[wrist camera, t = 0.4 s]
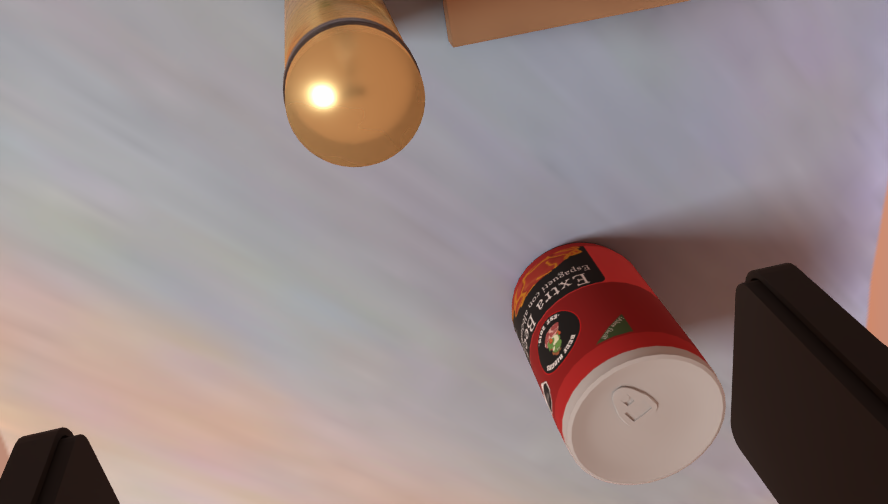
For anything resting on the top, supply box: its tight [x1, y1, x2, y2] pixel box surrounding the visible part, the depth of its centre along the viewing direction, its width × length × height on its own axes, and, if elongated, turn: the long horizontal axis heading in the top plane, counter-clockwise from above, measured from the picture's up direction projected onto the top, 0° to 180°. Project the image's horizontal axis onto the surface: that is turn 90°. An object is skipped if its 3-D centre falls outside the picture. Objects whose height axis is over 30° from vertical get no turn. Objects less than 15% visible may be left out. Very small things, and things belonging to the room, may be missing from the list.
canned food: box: [512, 243, 726, 485], centre depth 42 cm, size 8×8×11 cm
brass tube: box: [283, 0, 425, 167], centre depth 30 cm, size 4×4×15 cm
